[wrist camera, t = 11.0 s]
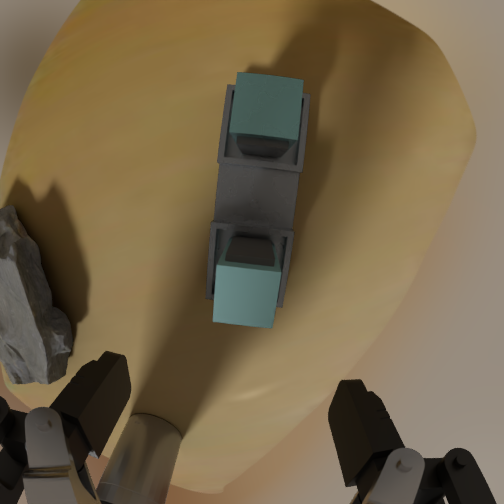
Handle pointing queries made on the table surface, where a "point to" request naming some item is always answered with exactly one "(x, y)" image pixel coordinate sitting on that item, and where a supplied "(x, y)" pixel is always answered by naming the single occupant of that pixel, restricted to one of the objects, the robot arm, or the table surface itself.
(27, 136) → the table surface
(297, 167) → the grey block holder
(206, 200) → the table surface
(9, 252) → the stone
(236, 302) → the block
